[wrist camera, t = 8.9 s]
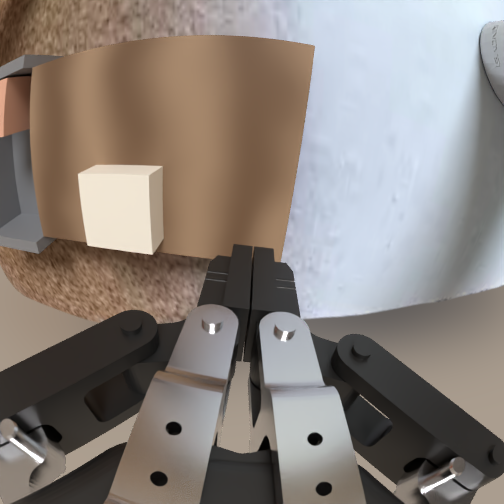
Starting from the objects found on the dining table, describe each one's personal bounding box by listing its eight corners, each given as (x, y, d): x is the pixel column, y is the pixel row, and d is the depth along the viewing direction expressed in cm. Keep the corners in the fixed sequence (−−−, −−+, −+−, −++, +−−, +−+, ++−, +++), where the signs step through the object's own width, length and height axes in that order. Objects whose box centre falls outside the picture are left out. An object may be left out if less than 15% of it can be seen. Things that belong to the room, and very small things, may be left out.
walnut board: (304, 58, 14) (314, 45, 10) (277, 237, 20) (279, 266, 17) (65, 67, 14) (32, 67, 10) (70, 215, 20) (43, 236, 17)
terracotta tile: (7, 77, 9) (-6, 82, 9) (3, 136, 12) (-9, 138, 12) (45, 75, 13) (30, 78, 13) (40, 125, 16) (27, 127, 15)
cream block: (162, 166, 14) (148, 175, 12) (163, 238, 16) (152, 254, 15) (96, 164, 14) (77, 173, 12) (102, 231, 16) (87, 245, 15)
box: (66, 56, 13) (24, 54, 9) (71, 225, 21) (39, 253, 16) (10, 77, 13) (-27, 83, 9) (20, 220, 21) (-10, 243, 16)
